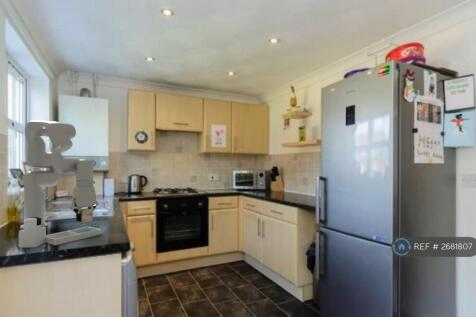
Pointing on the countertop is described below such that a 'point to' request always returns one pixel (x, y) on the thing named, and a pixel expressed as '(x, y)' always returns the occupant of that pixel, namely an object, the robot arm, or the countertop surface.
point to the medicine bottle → (32, 233)
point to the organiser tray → (72, 235)
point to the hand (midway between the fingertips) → (84, 220)
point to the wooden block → (86, 215)
